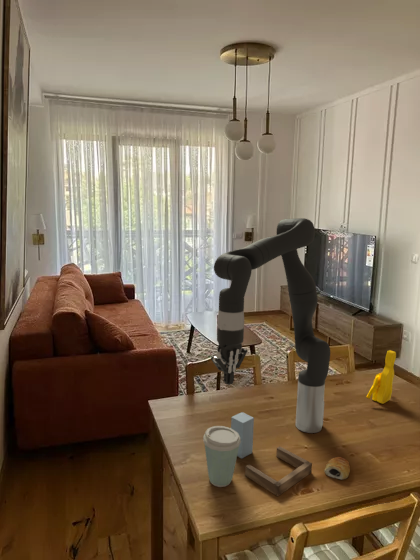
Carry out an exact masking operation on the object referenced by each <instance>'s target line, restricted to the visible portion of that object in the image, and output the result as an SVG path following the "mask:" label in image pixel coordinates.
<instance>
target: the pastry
mask: <svg viewBox="0 0 420 560" xmlns="http://www.w3.org/2000/svg"><path fill="white" fill-rule="evenodd" d="M350 472H351V466H350V462H349V461H348V459H345V458H344V457H342V456H337V457H333V458H331V459H329V460H328V462H326V464H325V468H324V470H323V473H325V475H326V476H328V477H330V478H333V479H338V480H342V481H343V480H346V479H348V477H349V475H350Z"/></svg>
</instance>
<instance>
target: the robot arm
mask: <svg viewBox="0 0 420 560" xmlns="http://www.w3.org/2000/svg"><path fill="white" fill-rule="evenodd" d="M315 237H316V229H315V225H314V223H313V222H312V221H311V220H310V219H308V218H303V217H302V218H301V217H300V218H285V219H281V220H280V221H279V222H278V223H277V226H276V235H273V236H270V237H269V236H268V237H264V238H261V239H259V240H256V241H254V242H252V243H251V244H249V245H246V246H245V247H242V248H238V249H233V250H231V251H226V252H224V253H222V254H220V255H219V256H218V257H216V260H215V261H214V263H213V272H214V273H215V275H216V276H217V278H220V279H223V280H227V281H231V282H230V286H229V287H226V288H225V287H224V288H223V289H220V291H219V294H218V295H219V296H218V312H217V313H218V314H217V325H216V326H217V327H216V328H217V329H216V341H217V343H218V347H217V350H216V351H217V353H215V355H211V357H210V359H211V362H213V365H214V366H215V367H216V368H217V370H218V371H220V372H222V373H223V382H224V384H226V385H227V386H230V385H233V384H234V381H235V372H236V370H237V369H239V368H240V367H241V365H242V363H243V362H244V359H245V357H246V355H247V353H248V350H247V349H246V348H244V347H243V345H242V344H243V342H244V336H245V314H244V313H245V312H244V309H245V296H246V293H247V290H248V286H249V283H250V280H251V275H252V272H253V270H256V269H259V268H260V267H261V266H264V265H265V264H267V263H269V262H271V261H272V260H274V259H277V258H278V257H280V256H281V259H282V263H283V268H284V273H285V278H286V284H287V291H288V292H287V293H288V297H289V302H290V308H291V314H292V315H291V316H292V321H293V330H294V349H295V353H296V355H297V356H298V357H299V358H300V359H301V360H302V361H304V362H306V363H307V365H306V369H303V370H300V371H299V373H298V375H297V376H298V379H297V393H296V395H297V396H296V410H295V411H296V413H295V427H296V428H297V430H299V431H301V432H304V433H309V434H313V433H314V434H316V433H319V432H321V430H322V427H323V426H324V415H325V414H324V412H325V388H326V387H325V385H326V379H327V377H328V374H329V369H330V362H331V347H330V344H329V343H328V342H327V341H325V340H323V339H320V338H319V337H316V336H315V332H314V328H313V317H314V314H315V312H316V309H317V307H318V300H319V299H318V292H317V291H318V290H317V286H316V282H315V280H314V278H313V276H312V275H311V273H310V272H309V271H308V269H307V268H306V266H305V265H304V264H303V262H302V261H301V258H300V257H299V253H298V249H301V248H304V247H305V248H306V247H308V246H309V245H310V244H312V243H313V241H314V239H315Z"/></svg>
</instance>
